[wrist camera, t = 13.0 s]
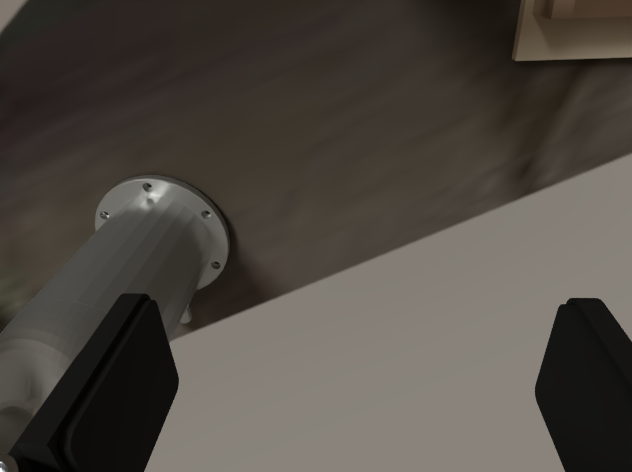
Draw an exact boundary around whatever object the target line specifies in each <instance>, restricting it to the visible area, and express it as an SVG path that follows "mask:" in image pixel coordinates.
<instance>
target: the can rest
mask: <svg viewBox="0 0 632 472" xmlns="http://www.w3.org/2000/svg"><path fill="white" fill-rule="evenodd" d="M624 57H632V0H521V5H520V11H519V17H518V23H517V29H516V35H515V41H514V47H513V53H512V59H513V60H515V61H533V60H563V59H593V58H624Z"/></svg>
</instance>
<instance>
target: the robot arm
mask: <svg viewBox="0 0 632 472" xmlns="http://www.w3.org/2000/svg"><path fill="white" fill-rule="evenodd" d="M207 211H208V212H207ZM95 230H96V232H95V233H94V234H93V235H92V237H91V238H90V239H89V240H88V241H87V242H86V243H85V244H84V245H83V246H82V247H81V248H80V249H79V250H78V251H77V252H76V253H75V254H74V256H73V257H72V258H71V259H70V260H69V261H68V262H67V263H66V264H65V265H64V266H63V267H62V268H61V269H60V270H59V271H58V272H57V273H56V275H55V276H54V277H53V278H52V279H51V280H50V281H49V282H48V283H47V284H46V285H45V286H44V287H43V288H42V289H41V290H40V291H39V292H38V294H37V295H36V296H35V297H34V298H33V299H32V300H31V301H30V302H29V303H28V304H27V305H26V306H25V307H24V308H23V309H22V310H21V311H20V313H19V314H18V315H17V316H16V317H15V318H14V319H13V320H12V321H11V322H10V323H9V324H8V325H7V326H6V327H5V329H4V330H3V331H2V333H1V334H0V472H144V470H145V468H146V466H147V463H148V461H149V458H150V456H151V453H152V451H153V449H154V446H155V444H156V441H157V439H158V436H159V434H160V432H161V429H162V427H163V424H164V422H165V419H166V417H167V415H168V412H169V410H170V407H171V405H172V402H173V400H174V398H175V395H176V393H177V390H178V384H179V377H178V373H177V370H176V367H175V363H174V359H173V356H172V352H171V349H170V346H169V343H170V341H171V338H172V336H173V334H174V332H175V330H176V328H177V326H178V324H179V322H180V323H183V324H184V323H188V322H190V321H191V320H192V314H191V310H190V307H189V304H190V302H191V300H192V298H193V296H194V294H195V292H196V290H199V289H201V288H203V287H205V286H207V285H209V284H210V283H212V282H213V281H214V280H215V279H216V278H217V277H218V276H219V275H220V273H221V272H222V271H223V269H224V266H225V264H226V262H227V259H228V256H229V253H230V237H229V231H228V228H227V225H226V223H225V220H224V218H223V217H222V215H221V214H220V212H219V210H218V209H217V208H216V206H215V205H214V204H213V203H212V202H211V201H210V200H209V199H208V198H207V197H206V196H205V195H203V194H202V193H201V192H200V191H198V190H197V189H195V188H193V187H192V186H190V185H188V184H186V183H184V182H181V181H179V180H176V179H174V178H169V177H164V176H160V175H143V176H137V177H132V178H130V179H127V180H124V181H122V182H121V183H119V184H118V185H116V186H115V187H113V188H112V189H111V190H110V191H109V192H108V193H107V194H106V195H105V196H104V198H103V199H102V201H101V202H100V204H99V206H98V208H97V211H96V216H95ZM535 396H536V401H537V404H538V406H539V408H540V411H541V413H542V416H543V418H544V421H545V423H546V426H547V428H548V431H549V433H550V435H551V438H552V440H553V443H554V445H555V448H556V450H557V453H558V455H559V458H560V460H561V462H562V465H563V467H564V470H565V472H632V342H631V340H630V339H629V338H628V336H627V335H626V333H625V332H624V330H623V329H622V328H621V326H620V325H619V323H618V322H617V321H616V319H615V318H614V316H613V315H612V314H611V312H610V311H609V310H608V308H607V307H606V305H605V304H604V303H603V302H602V301H601V300H600V299H598V298H571V299H569V300H568V301H567V303H566V304H562V305H560V306H559V308H558V311H557V314H556V318H555V321H554V324H553V328H552V331H551V335H550V338H549V341H548V345H547V348H546V352H545V355H544V358H543V362H542V365H541V369H540V372H539V375H538V379H537V382H536V386H535Z"/></svg>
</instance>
